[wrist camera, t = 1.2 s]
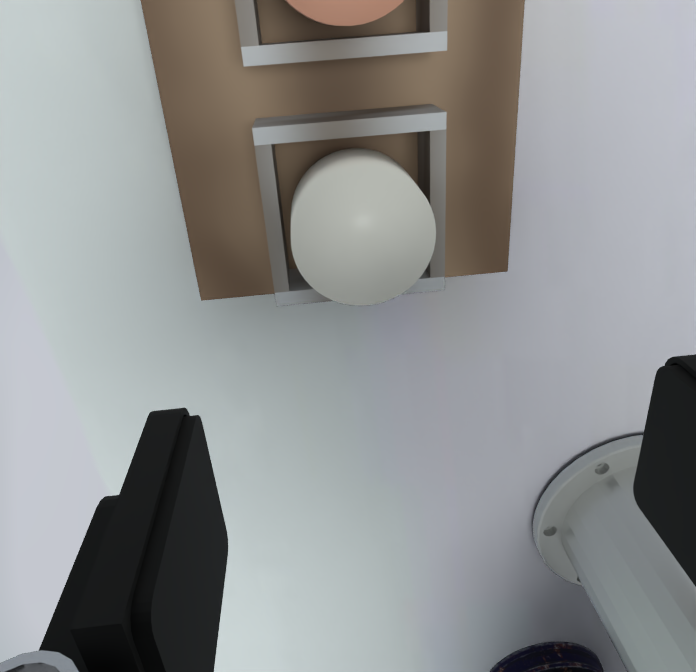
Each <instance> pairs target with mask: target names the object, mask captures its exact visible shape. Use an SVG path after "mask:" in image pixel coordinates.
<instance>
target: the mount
mask: <svg viewBox="0 0 696 672" xmlns="http://www.w3.org/2000/svg"><path fill="white" fill-rule="evenodd" d="M524 2H525V0H404V1H403V2H402V3H401V4H400V5H399V6H398V7H396V8H395V9H394V10H393V11H391V12H389V13H388V14H386V15H385V16H383V17H381V18H379V19H377V20H374V21H372V22H368V23H365V24H361V25H354V26H333V25H326V24H322V23H319V22H315V21H313V20H311V19H309V18H306V17H305V16H303V15H302V14H300V13H298V12H297V11H296V10H295V9H293V8H292V7H291V6H290V5H289V4H288V3H287V2H286V1H285V0H141V4H142V9H143V14H144V19H145V24H146V29H147V34H148V39H149V44H150V49H151V54H152V59H153V63H154V68H155V73H156V78H157V83H158V88H159V93H160V98H161V103H162V108H163V113H164V118H165V123H166V128H167V133H168V138H169V143H170V148H171V153H172V158H173V163H174V168H175V173H176V178H177V183H178V188H179V193H180V198H181V203H182V208H183V212H184V217H185V222H186V227H187V232H188V237H189V242H190V247H191V252H192V257H193V262H194V267H195V272H196V277H197V282H198V287H199V292H200V297H201V300H212V299H222V298H233V297H243V296H254V295H264V294H275V300H276V306H285V305H295V304H305V303H316V302H326V301H333V300H331V299H329V298H327V297H325V296H323V295H321V294H320V293H318V292H317V291H316V290H315V289H314V288H312V287H311V286H310V285H309V284H308V283H307V281H306V280H305V279H304V278H303V276H302V275H301V273H300V272H299V270H298V268H297V266H296V263H295V260H294V257H293V254H292V248H291V204H292V199H293V195H294V192H295V190H296V187H297V185H298V183H299V181H300V180H301V178H302V177H303V175H304V174H305V173H306V172H307V170H308V169H309V168H310V167H311V166H312V165H314V164H315V163H316V162H317V161H318V160H320V159H322V158H323V157H325V156H327V155H329V154H331V153H333V152H336V151H340V150H344V149H350V148H364V149H370V150H374V151H378V152H380V153H383V154H385V155H387V156H389V157H390V158H392V159H394V160H395V161H396V162H397V163H399V164H400V165H401V166H402V167H403V168H404V169H405V170H406V172H407V173H408V174H409V176H410V177H411V178H412V179H413V181H414V182H415V183H416V185H417V186H418V187H419V188H420V190H421V191H422V193H423V194H424V195H425V197H426V198H427V200H428V202H429V204H430V206H431V209H432V211H433V214H434V219H435V224H436V242H435V247H434V251H433V254H432V257H431V260H430V262H429V264H428V266H427V268H426V270H425V271H424V273H423V274H422V276H421V277H420V278H419V279H418V280H417V281H416V283H414V284H413V285H412V286H411V287H410V288H409V289H408V290H406V291H405V292H404V293H402V294H409V293H420V292H430V291H441V290H445V277H453V276H464V275H474V274H485V273H495V272H506V271H508V255H509V239H510V223H511V208H512V192H513V176H514V160H515V144H516V129H517V113H518V97H519V81H520V65H521V50H522V34H523V18H524Z"/></svg>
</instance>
